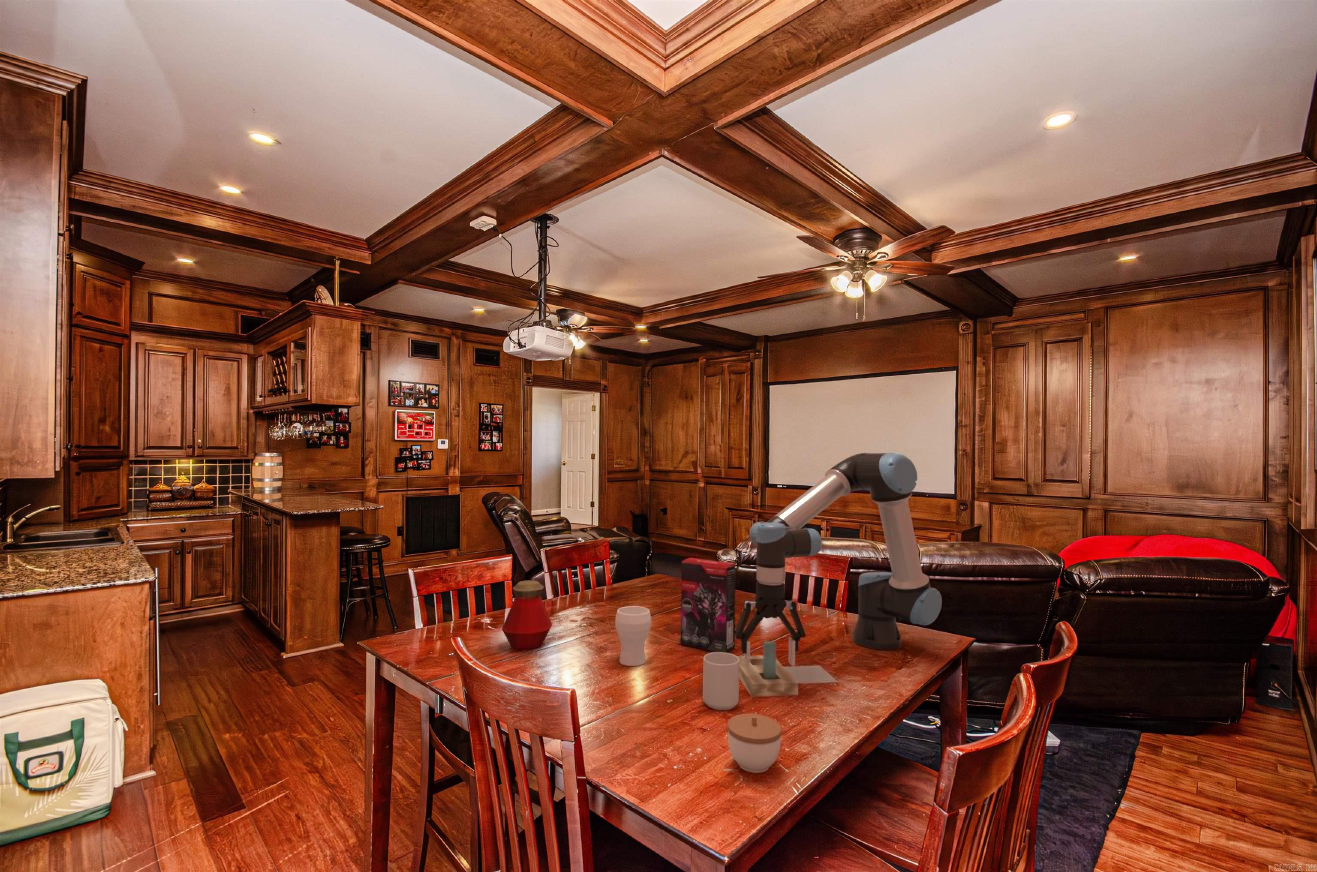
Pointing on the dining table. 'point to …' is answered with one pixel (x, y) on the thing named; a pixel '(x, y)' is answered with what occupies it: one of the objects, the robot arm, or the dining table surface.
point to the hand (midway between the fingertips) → (769, 664)
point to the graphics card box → (708, 605)
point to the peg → (769, 660)
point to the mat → (810, 674)
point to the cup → (632, 633)
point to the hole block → (769, 687)
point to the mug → (721, 680)
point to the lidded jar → (754, 741)
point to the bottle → (527, 617)
